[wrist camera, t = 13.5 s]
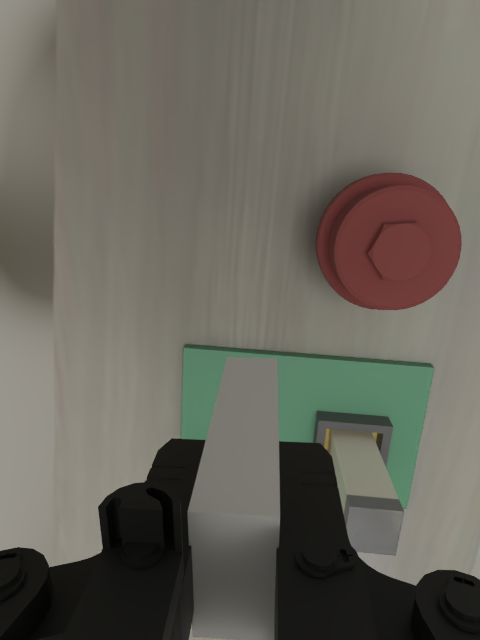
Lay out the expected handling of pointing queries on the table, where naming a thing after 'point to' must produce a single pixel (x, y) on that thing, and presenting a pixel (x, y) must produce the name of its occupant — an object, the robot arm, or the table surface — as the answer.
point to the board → (324, 401)
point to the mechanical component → (388, 242)
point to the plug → (365, 492)
